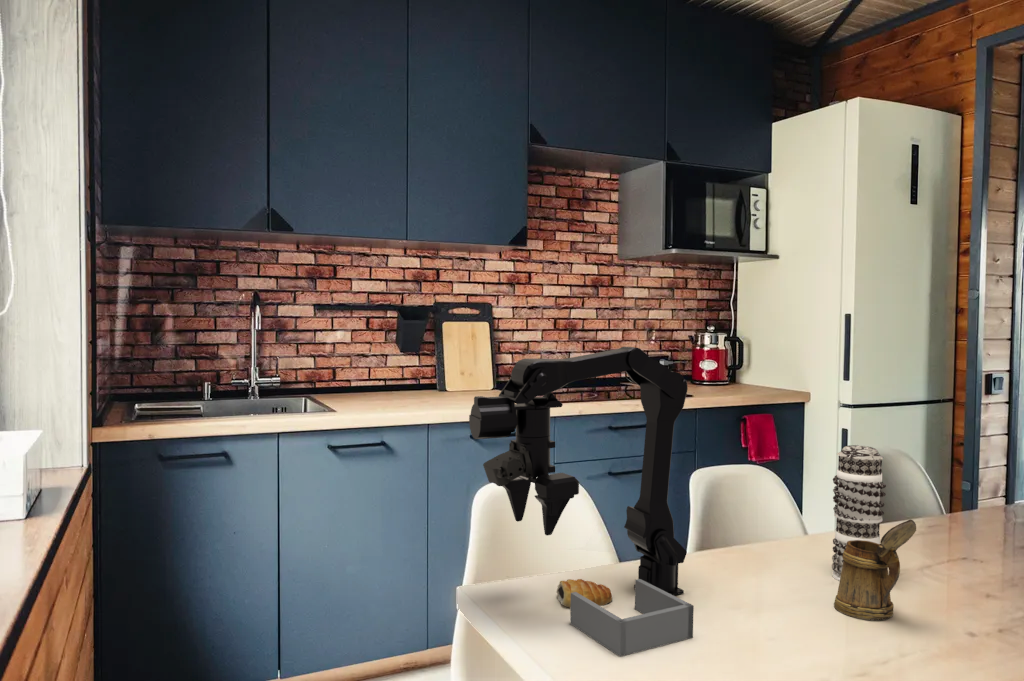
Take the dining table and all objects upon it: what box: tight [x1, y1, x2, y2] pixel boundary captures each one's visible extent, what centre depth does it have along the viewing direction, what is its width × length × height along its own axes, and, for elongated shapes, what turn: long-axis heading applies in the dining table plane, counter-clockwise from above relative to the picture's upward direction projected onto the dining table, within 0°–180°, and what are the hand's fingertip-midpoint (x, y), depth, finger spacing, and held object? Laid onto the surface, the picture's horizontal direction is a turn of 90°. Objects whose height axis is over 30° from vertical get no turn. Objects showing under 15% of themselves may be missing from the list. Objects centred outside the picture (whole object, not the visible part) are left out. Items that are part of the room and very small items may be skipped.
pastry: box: [556, 578, 613, 609], centre depth 132 cm, size 9×7×4 cm
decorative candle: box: [831, 444, 887, 582], centre depth 145 cm, size 9×9×25 cm
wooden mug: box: [833, 519, 917, 621], centre depth 127 cm, size 9×14×18 cm, turn 20°
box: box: [569, 578, 695, 657], centre depth 120 cm, size 14×13×5 cm
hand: (533, 527), depth 127 cm, fingers open, 9 cm apart
